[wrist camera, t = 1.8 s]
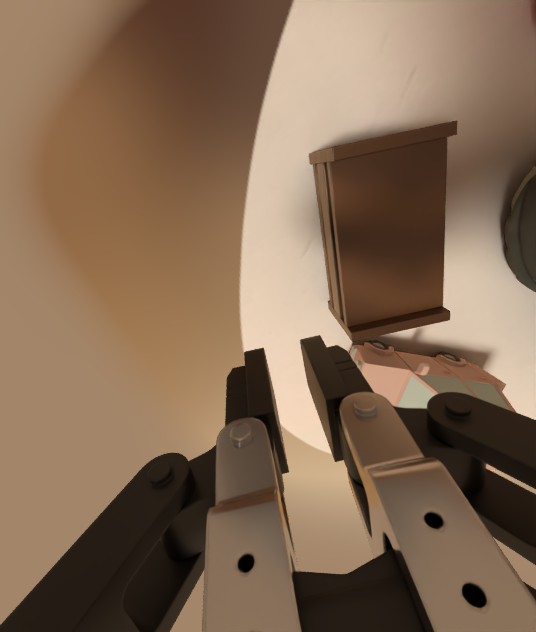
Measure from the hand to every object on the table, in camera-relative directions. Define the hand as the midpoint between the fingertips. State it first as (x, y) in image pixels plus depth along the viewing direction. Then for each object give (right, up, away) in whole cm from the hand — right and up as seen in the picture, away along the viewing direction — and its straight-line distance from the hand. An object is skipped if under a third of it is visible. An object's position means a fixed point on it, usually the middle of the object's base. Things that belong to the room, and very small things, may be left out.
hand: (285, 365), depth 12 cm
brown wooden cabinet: (+8, +10, +17) cm, 21 cm away
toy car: (+14, -5, +24) cm, 29 cm away
